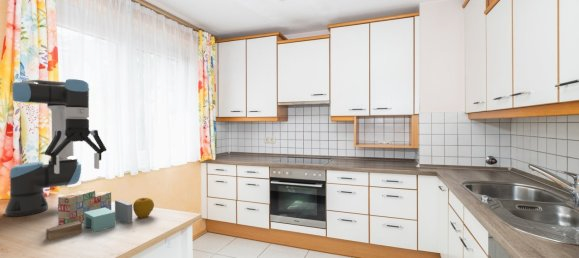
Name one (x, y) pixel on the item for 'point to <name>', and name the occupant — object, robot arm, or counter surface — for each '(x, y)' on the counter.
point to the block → (99, 219)
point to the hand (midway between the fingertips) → (77, 170)
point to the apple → (143, 207)
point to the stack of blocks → (81, 205)
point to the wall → (123, 211)
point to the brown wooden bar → (63, 230)
